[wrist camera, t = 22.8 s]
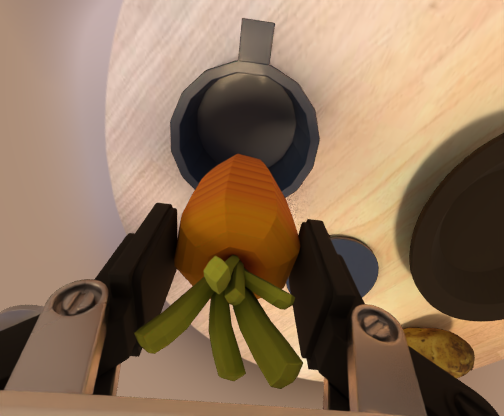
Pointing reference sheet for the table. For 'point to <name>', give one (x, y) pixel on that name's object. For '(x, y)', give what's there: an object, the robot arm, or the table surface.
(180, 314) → the carrot
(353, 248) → the lid
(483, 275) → the plate
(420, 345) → the potato
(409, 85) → the table surface
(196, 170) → the pot
